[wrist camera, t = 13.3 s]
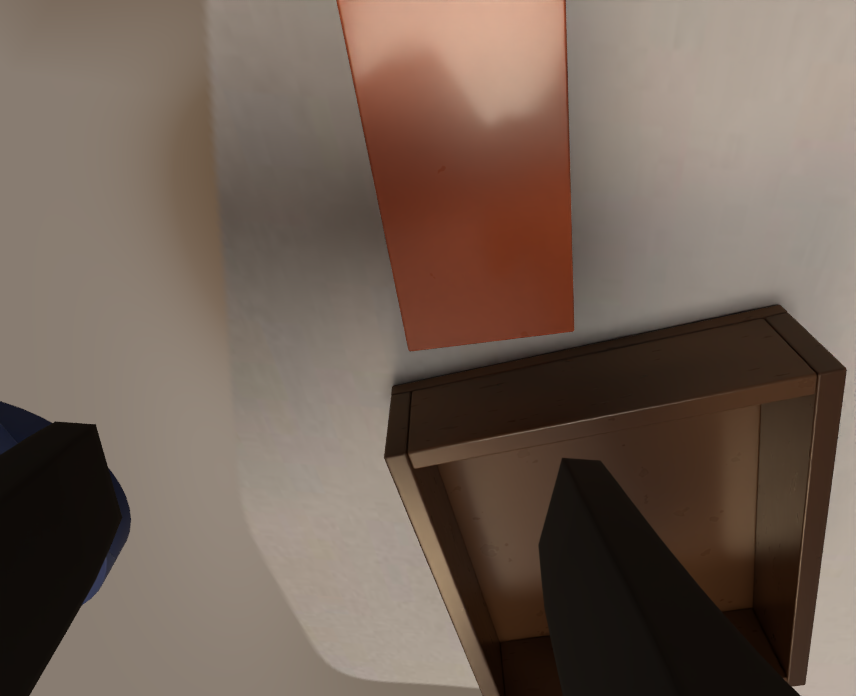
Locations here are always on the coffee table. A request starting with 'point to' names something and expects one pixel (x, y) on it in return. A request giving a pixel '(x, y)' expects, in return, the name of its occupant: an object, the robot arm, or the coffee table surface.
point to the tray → (628, 478)
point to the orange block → (469, 162)
